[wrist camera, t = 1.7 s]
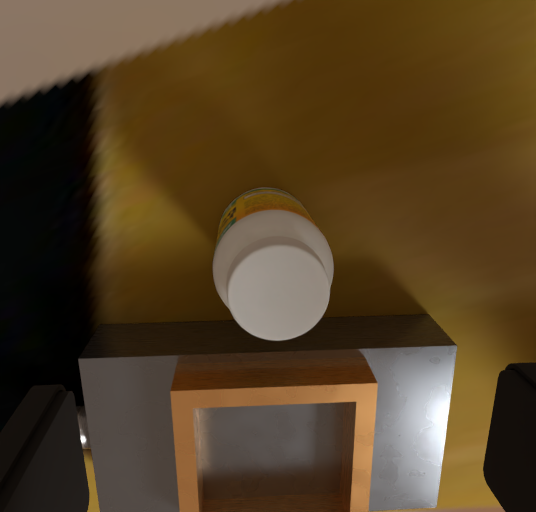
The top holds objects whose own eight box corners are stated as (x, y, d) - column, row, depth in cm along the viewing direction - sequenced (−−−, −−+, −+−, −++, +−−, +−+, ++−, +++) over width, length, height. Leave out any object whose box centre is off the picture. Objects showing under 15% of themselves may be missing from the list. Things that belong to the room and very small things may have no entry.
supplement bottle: (305, 279, 28) (337, 363, 19) (214, 272, 28) (203, 354, 19) (317, 189, 27) (358, 234, 18) (222, 180, 26) (213, 221, 17)
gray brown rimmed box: (428, 314, 30) (479, 370, 23) (413, 460, 33) (454, 543, 27) (47, 326, 28) (-6, 388, 22) (72, 477, 32) (32, 568, 25)
